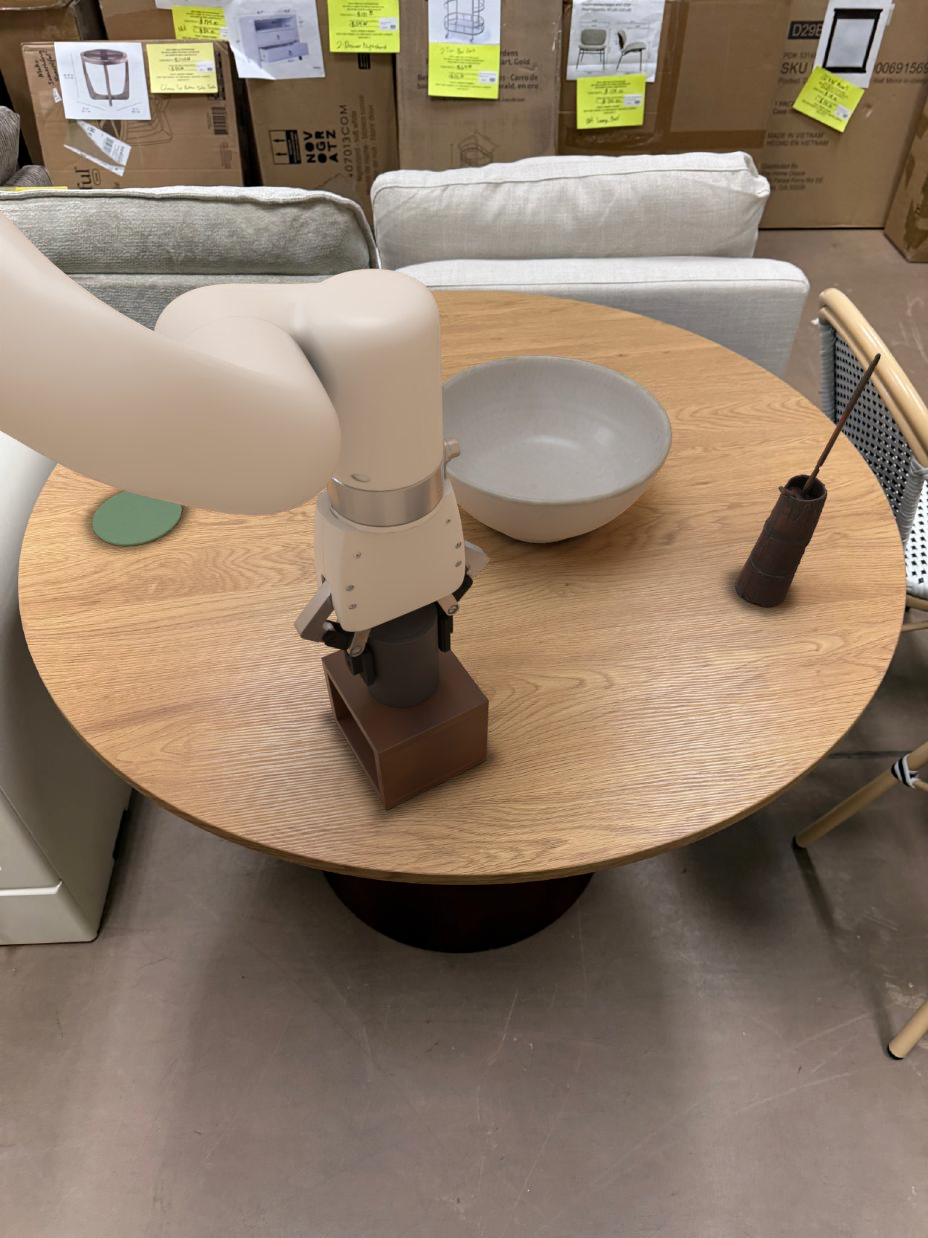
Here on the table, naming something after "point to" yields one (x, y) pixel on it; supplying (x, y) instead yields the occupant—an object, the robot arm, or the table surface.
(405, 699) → the dark brown cylinder
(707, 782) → the table surface
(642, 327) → the table surface
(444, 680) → the box
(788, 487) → the butter churn
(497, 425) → the decorative bowl
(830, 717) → the table surface
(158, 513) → the mat
